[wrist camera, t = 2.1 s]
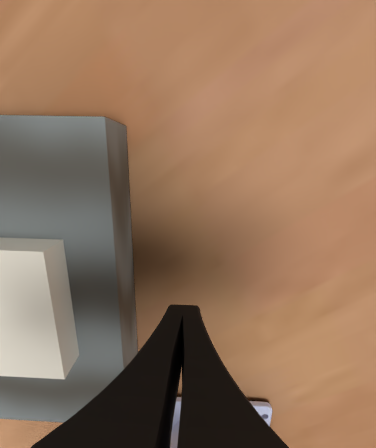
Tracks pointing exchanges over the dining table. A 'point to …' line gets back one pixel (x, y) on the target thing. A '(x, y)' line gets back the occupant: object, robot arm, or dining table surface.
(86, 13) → the dining table surface
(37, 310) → the coaster
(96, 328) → the plate
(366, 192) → the dining table surface
